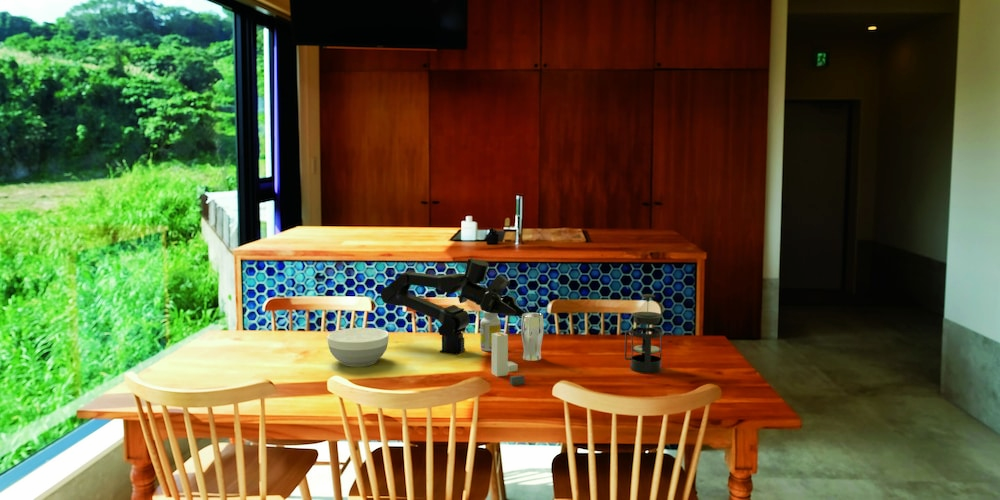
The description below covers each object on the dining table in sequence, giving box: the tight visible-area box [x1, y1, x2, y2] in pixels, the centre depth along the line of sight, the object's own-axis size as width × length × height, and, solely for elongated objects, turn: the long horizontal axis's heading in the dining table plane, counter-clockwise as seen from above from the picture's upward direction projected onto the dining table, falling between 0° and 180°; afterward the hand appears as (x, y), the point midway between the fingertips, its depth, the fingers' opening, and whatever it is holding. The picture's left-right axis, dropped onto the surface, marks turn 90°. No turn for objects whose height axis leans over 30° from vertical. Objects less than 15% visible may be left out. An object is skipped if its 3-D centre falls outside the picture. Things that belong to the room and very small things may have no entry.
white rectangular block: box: [491, 331, 509, 377], centre depth 242 cm, size 4×4×12 cm
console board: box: [508, 360, 525, 387], centre depth 241 cm, size 20×14×3 cm
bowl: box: [326, 327, 390, 368], centre depth 259 cm, size 19×19×9 cm
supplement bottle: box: [479, 310, 502, 352], centre depth 275 cm, size 7×7×13 cm
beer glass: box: [520, 312, 544, 362], centre depth 260 cm, size 7×7×15 cm
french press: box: [624, 293, 663, 374], centre depth 252 cm, size 12×9×23 cm
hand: (521, 313), depth 258 cm, fingers open, 9 cm apart
